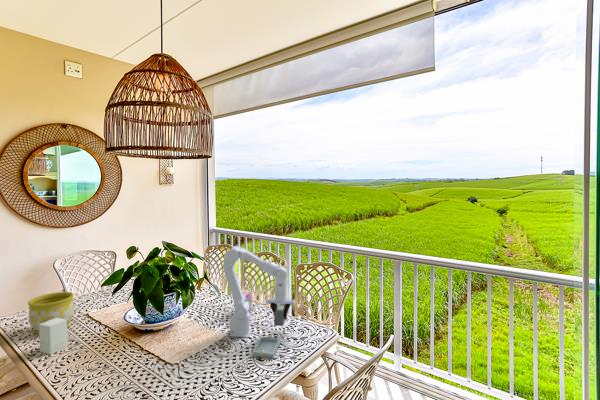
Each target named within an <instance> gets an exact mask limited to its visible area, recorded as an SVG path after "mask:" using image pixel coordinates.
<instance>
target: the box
mask: <svg viewBox="0 0 600 400" xmlns="http://www.w3.org/2000/svg"><path fill="white" fill-rule="evenodd" d="M242 292H243V295H244V296H245V297H246V299H247V301H248V302H249V303H250V309H249V310H248V312H250V311H251V310H252V290H250V289H242Z"/></svg>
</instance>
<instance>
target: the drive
mask: <svg viewBox="0 0 600 400" xmlns="http://www.w3.org/2000/svg"><path fill="white" fill-rule="evenodd" d="M284 306H285V304H281V305H278V304H277V308H276V309H275V311H274V314H273V318H274V319H273V320H274V321H273V323H274V324H273V325H274V326H280V327H284V326H285V323H286V320H287V318H286V319H284V315H285V311H284Z"/></svg>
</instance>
